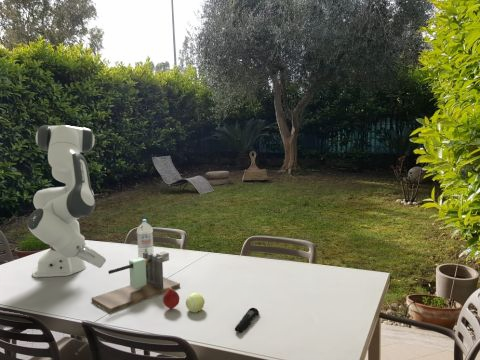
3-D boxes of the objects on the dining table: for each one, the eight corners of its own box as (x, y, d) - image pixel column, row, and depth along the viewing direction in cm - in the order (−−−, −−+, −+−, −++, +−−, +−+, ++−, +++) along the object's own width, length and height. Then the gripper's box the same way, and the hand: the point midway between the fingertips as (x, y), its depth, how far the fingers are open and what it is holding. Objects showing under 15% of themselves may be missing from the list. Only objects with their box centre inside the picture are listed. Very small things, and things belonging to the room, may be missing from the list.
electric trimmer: (231, 334, 125) (231, 325, 125) (249, 313, 139) (249, 304, 139) (242, 337, 124) (242, 327, 123) (260, 315, 138) (259, 306, 137)
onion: (182, 306, 144) (181, 285, 143) (174, 313, 139) (174, 291, 138) (168, 304, 146) (167, 283, 145) (160, 311, 141) (159, 289, 140)
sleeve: (135, 288, 153) (134, 262, 152) (130, 286, 156) (129, 260, 154) (146, 284, 157) (145, 259, 156) (141, 282, 159) (140, 257, 158)
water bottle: (156, 272, 181) (154, 218, 178) (151, 277, 174) (149, 221, 171) (141, 271, 182) (139, 218, 179) (136, 277, 175) (134, 221, 172)
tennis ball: (196, 287, 145) (182, 293, 140) (209, 294, 141) (195, 300, 136) (194, 303, 146) (181, 309, 141) (207, 311, 142) (194, 317, 137)
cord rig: (110, 312, 140) (108, 274, 139) (91, 301, 150) (89, 265, 148) (179, 287, 163) (178, 253, 161) (159, 278, 172) (158, 247, 171)
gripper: (91, 242, 130) (120, 263, 138) (64, 231, 144) (91, 251, 152) (79, 258, 127) (108, 279, 136) (52, 245, 141) (81, 265, 149)
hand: (99, 264), depth 144 cm, fingers closed
